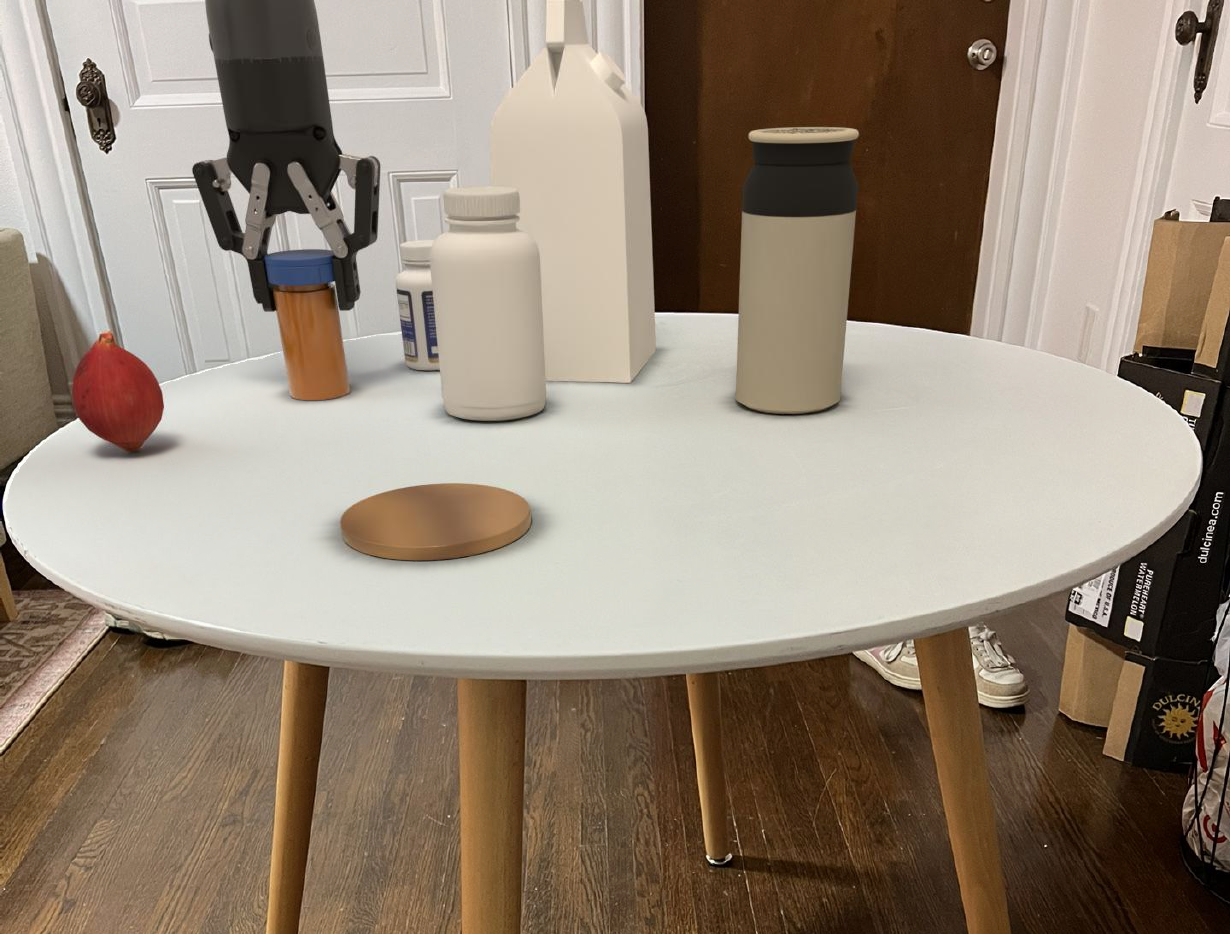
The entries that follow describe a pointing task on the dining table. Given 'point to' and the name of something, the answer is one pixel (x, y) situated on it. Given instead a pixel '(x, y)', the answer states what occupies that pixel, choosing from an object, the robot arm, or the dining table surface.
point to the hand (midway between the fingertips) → (309, 308)
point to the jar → (312, 341)
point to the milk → (582, 201)
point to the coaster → (435, 521)
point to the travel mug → (795, 268)
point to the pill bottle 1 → (417, 306)
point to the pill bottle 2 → (488, 307)
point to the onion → (117, 395)
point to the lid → (300, 267)
